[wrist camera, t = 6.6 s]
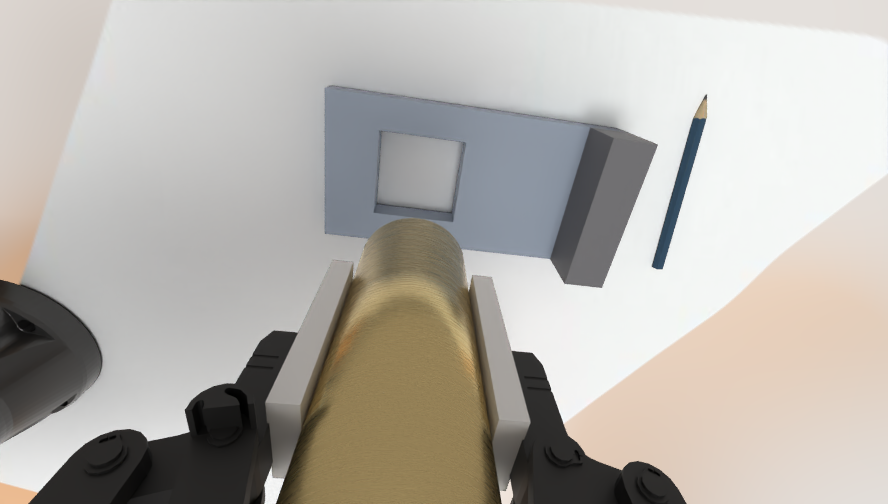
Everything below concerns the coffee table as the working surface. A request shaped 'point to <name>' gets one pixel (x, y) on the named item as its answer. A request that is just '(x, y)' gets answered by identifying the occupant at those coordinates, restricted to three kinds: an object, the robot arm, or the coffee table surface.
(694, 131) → the pencil
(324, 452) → the brass cylinder rod
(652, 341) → the coffee table surface
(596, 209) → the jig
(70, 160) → the coffee table surface
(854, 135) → the coffee table surface
